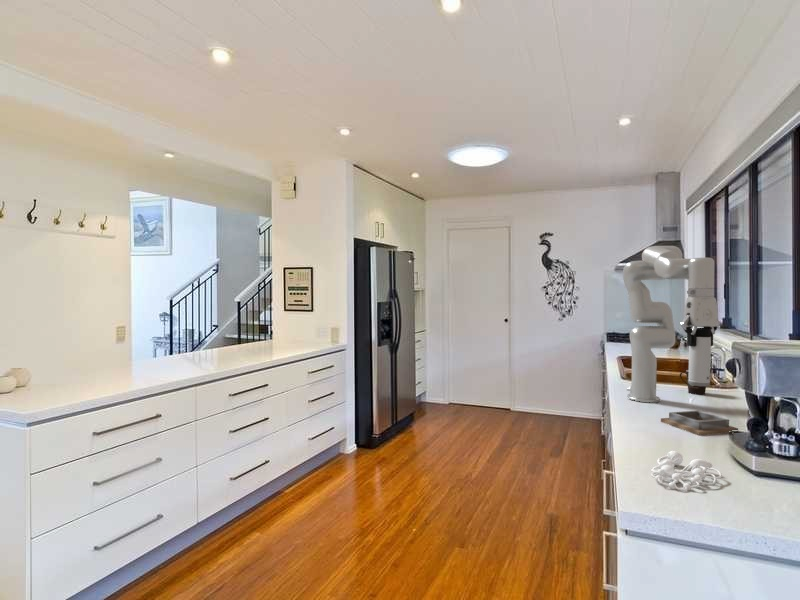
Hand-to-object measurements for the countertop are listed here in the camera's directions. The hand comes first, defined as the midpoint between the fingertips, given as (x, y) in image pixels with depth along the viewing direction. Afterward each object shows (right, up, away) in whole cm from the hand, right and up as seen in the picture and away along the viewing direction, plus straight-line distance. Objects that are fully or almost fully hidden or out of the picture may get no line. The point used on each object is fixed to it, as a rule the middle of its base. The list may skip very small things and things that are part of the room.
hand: (699, 345), depth 161 cm
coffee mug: (+32, -27, +54) cm, 69 cm away
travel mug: (0, -14, 0) cm, 14 cm away
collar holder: (0, -28, +1) cm, 28 cm away
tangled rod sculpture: (-31, -30, -43) cm, 61 cm away
